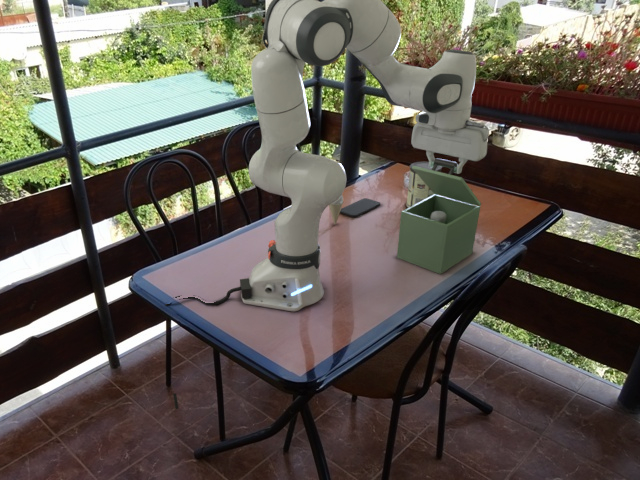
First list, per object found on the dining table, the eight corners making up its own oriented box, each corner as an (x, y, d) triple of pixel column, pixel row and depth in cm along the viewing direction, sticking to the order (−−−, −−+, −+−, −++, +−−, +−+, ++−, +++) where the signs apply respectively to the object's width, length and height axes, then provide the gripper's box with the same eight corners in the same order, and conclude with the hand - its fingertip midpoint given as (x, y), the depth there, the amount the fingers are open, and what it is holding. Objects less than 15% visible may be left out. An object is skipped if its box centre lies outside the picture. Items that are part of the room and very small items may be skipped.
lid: (460, 180, 143) (469, 162, 142) (411, 168, 152) (420, 151, 152) (480, 206, 156) (488, 189, 156) (434, 193, 165) (442, 178, 165)
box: (440, 274, 155) (447, 226, 147) (396, 257, 165) (401, 211, 157) (472, 253, 164) (480, 206, 156) (428, 238, 174) (434, 193, 166)
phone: (381, 202, 197) (354, 215, 189) (381, 205, 197) (354, 218, 189) (364, 197, 202) (337, 210, 194) (364, 199, 202) (337, 212, 194)
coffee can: (431, 198, 199) (436, 160, 191) (440, 210, 190) (445, 170, 183) (402, 200, 200) (406, 162, 192) (409, 212, 191) (414, 172, 183)
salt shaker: (443, 249, 166) (449, 208, 159) (445, 258, 161) (451, 217, 154) (422, 248, 167) (427, 208, 160) (424, 257, 162) (429, 216, 155)
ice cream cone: (333, 219, 190) (334, 177, 182) (345, 223, 187) (347, 181, 178) (324, 225, 187) (324, 182, 179) (336, 228, 184) (337, 185, 176)
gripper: (496, 121, 137) (487, 174, 145) (424, 109, 151) (419, 158, 158) (483, 127, 134) (474, 182, 141) (410, 114, 147) (405, 165, 155)
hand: (444, 169), depth 150 cm, fingers closed on lid, 6 cm apart
